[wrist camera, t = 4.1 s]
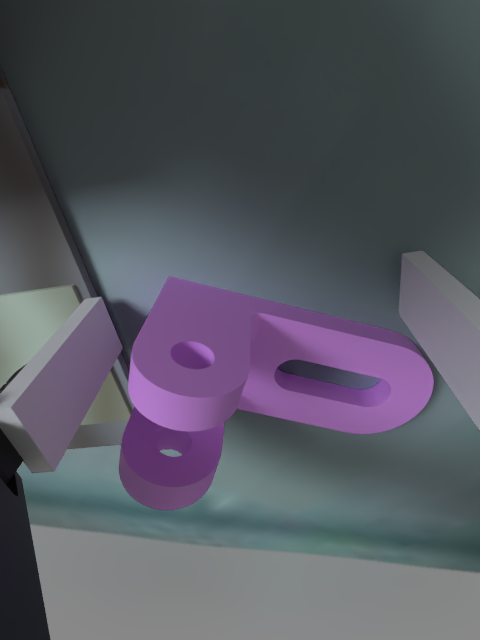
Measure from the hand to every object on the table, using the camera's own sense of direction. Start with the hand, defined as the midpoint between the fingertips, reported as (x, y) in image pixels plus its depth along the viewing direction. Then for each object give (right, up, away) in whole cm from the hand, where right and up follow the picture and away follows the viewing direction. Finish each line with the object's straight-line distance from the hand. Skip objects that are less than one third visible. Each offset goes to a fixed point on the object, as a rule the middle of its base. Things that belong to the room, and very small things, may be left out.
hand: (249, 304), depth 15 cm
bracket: (+2, -2, +2) cm, 4 cm away
